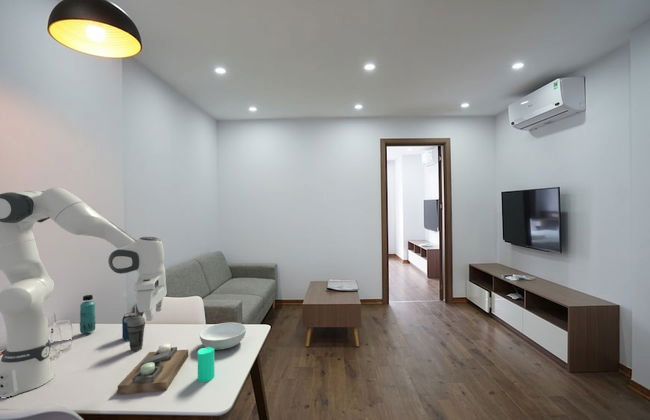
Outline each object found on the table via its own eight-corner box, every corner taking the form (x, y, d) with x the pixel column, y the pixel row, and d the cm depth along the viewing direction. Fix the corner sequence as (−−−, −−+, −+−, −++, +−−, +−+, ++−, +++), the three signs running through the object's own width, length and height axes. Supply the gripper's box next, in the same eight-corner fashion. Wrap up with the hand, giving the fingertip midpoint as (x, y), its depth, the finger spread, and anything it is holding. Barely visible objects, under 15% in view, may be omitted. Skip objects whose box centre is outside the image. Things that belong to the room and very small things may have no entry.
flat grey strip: (141, 367, 115) (140, 364, 115) (146, 361, 119) (145, 358, 119) (167, 358, 116) (166, 355, 116) (171, 353, 120) (171, 350, 120)
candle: (215, 379, 113) (215, 347, 113) (198, 383, 110) (198, 351, 110) (213, 371, 118) (212, 341, 118) (196, 375, 115) (196, 345, 115)
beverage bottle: (84, 331, 158) (84, 294, 158) (98, 330, 160) (98, 293, 160) (76, 336, 152) (76, 297, 152) (91, 335, 153) (91, 296, 153)
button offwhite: (157, 354, 123) (157, 348, 123) (161, 349, 127) (161, 343, 127) (168, 353, 124) (168, 347, 124) (172, 348, 128) (172, 343, 128)
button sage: (138, 375, 107) (138, 369, 107) (144, 369, 111) (144, 362, 111) (151, 374, 108) (151, 368, 108) (156, 368, 112) (156, 361, 112)
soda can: (131, 341, 146) (131, 316, 146) (118, 340, 147) (118, 316, 147) (142, 335, 153) (141, 312, 153) (130, 334, 154) (130, 311, 154)
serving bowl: (219, 333, 155) (219, 320, 155) (254, 338, 149) (254, 325, 149) (189, 351, 136) (189, 336, 136) (227, 358, 129) (227, 342, 129)
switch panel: (117, 394, 104) (117, 380, 104) (149, 359, 129) (149, 347, 129) (166, 390, 106) (166, 376, 106) (188, 356, 131) (188, 345, 131)
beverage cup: (130, 354, 133) (130, 309, 133) (124, 350, 137) (124, 306, 137) (148, 348, 138) (148, 305, 138) (141, 344, 143) (141, 302, 143)
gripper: (153, 273, 123) (155, 307, 123) (131, 287, 103) (134, 327, 103) (169, 272, 124) (171, 305, 124) (151, 285, 104) (154, 324, 104)
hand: (154, 315), depth 114 cm, fingers open, 8 cm apart
